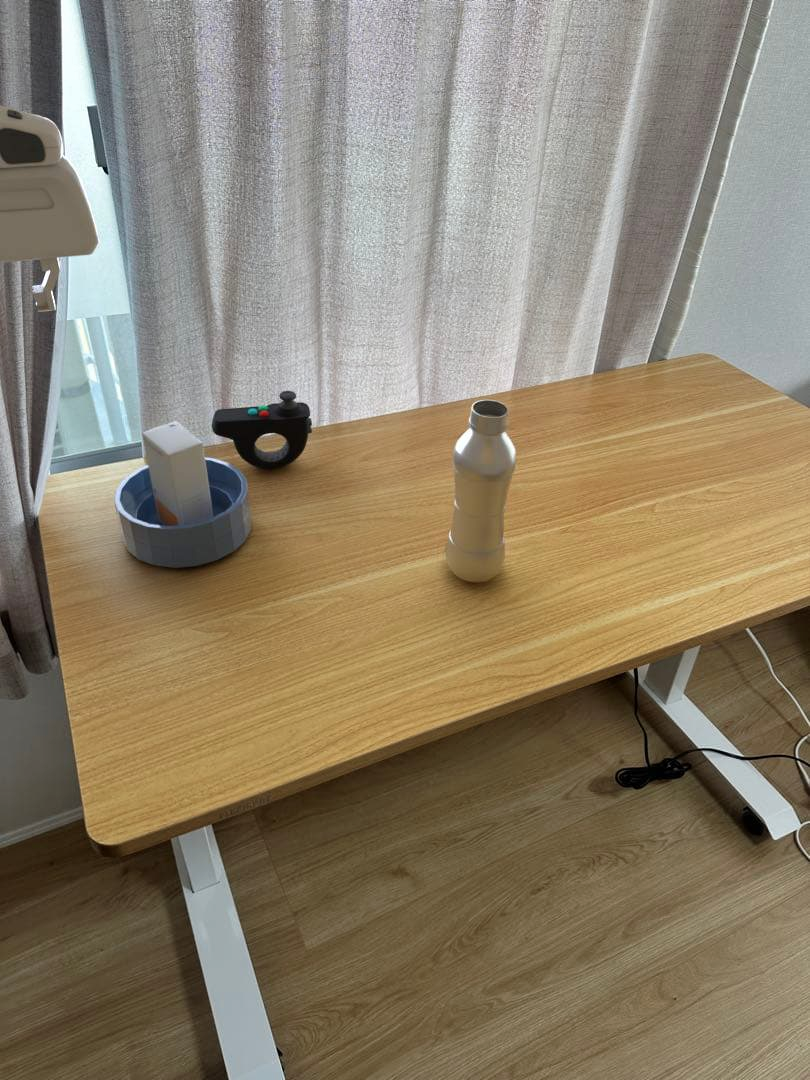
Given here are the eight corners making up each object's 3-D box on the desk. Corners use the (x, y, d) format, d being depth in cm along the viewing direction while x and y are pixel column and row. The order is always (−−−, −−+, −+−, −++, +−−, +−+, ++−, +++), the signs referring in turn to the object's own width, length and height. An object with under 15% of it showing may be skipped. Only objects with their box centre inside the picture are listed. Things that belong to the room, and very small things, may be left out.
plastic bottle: (459, 595, 85) (474, 431, 73) (434, 558, 90) (445, 397, 78) (513, 583, 87) (537, 420, 75) (486, 546, 92) (504, 388, 80)
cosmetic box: (157, 522, 93) (139, 431, 85) (190, 508, 95) (176, 419, 88) (183, 547, 89) (167, 455, 82) (217, 533, 91) (204, 441, 84)
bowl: (141, 587, 85) (131, 542, 81) (112, 516, 95) (102, 473, 91) (269, 551, 90) (265, 507, 87) (229, 487, 100) (223, 446, 97)
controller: (315, 470, 104) (312, 400, 98) (217, 478, 102) (208, 408, 96) (311, 452, 107) (308, 384, 101) (216, 460, 105) (207, 391, 99)
